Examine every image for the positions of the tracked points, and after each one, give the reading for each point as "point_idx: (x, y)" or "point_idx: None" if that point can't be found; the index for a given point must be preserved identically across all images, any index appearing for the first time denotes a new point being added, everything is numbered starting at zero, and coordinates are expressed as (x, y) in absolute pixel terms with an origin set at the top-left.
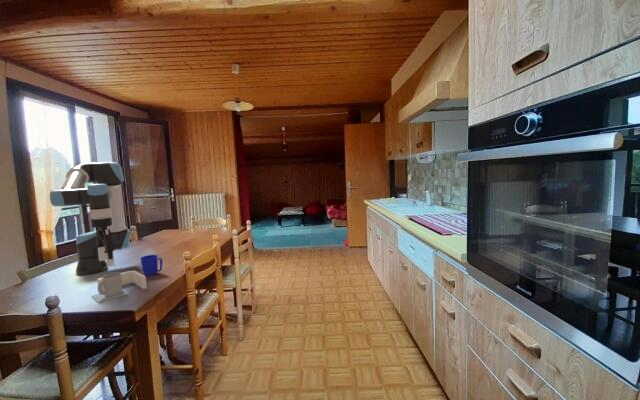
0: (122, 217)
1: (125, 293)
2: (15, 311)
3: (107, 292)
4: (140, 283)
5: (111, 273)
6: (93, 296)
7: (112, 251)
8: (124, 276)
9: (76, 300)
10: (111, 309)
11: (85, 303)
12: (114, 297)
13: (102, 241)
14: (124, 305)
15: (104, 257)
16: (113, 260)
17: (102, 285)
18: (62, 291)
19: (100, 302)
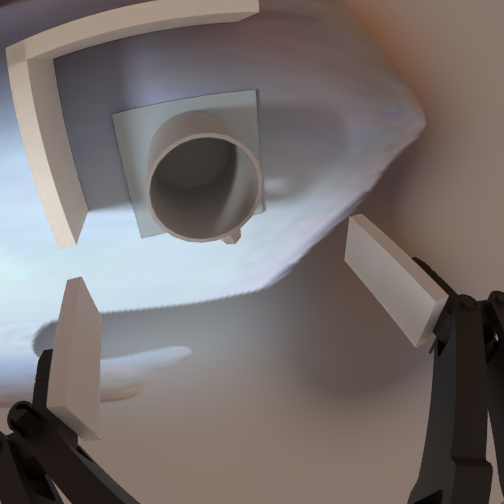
0: None
1: (241, 104)
2: (133, 388)
3: (223, 184)
4: (200, 21)
5: (149, 190)
6: (157, 230)
7: (446, 298)
8: (42, 102)
9: (149, 280)
10: (370, 176)
11: (219, 250)
12: (256, 152)
13: (125, 500)
14: (374, 136)
15: (84, 307)
16: (386, 241)
17: (77, 208)
18: (6, 325)
19: (262, 203)
